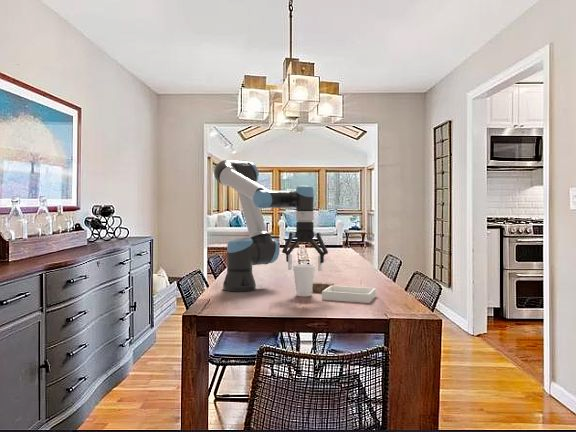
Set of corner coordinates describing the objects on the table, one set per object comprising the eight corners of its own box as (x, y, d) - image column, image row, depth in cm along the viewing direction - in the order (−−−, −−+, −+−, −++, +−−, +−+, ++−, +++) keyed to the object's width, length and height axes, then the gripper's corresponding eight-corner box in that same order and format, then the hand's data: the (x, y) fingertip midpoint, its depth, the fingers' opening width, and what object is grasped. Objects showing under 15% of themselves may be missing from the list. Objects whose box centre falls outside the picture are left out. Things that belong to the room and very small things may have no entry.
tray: (322, 299, 217) (322, 291, 216) (331, 293, 232) (331, 285, 232) (369, 303, 210) (369, 294, 210) (375, 296, 225) (375, 288, 225)
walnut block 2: (321, 292, 234) (321, 283, 234) (326, 291, 237) (326, 282, 237) (329, 293, 231) (329, 284, 231) (333, 292, 235) (333, 283, 235)
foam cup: (312, 297, 221) (313, 267, 220) (291, 296, 223) (291, 266, 222) (315, 293, 230) (316, 264, 230) (295, 292, 232) (295, 263, 232)
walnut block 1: (312, 292, 234) (312, 283, 234) (313, 290, 238) (313, 282, 238) (321, 292, 234) (321, 283, 233) (321, 291, 238) (321, 282, 237)
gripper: (275, 221, 226) (275, 269, 226) (330, 221, 218) (330, 272, 218) (280, 220, 233) (280, 267, 233) (334, 221, 225) (334, 270, 225)
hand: (304, 270), depth 226 cm, fingers open, 13 cm apart
